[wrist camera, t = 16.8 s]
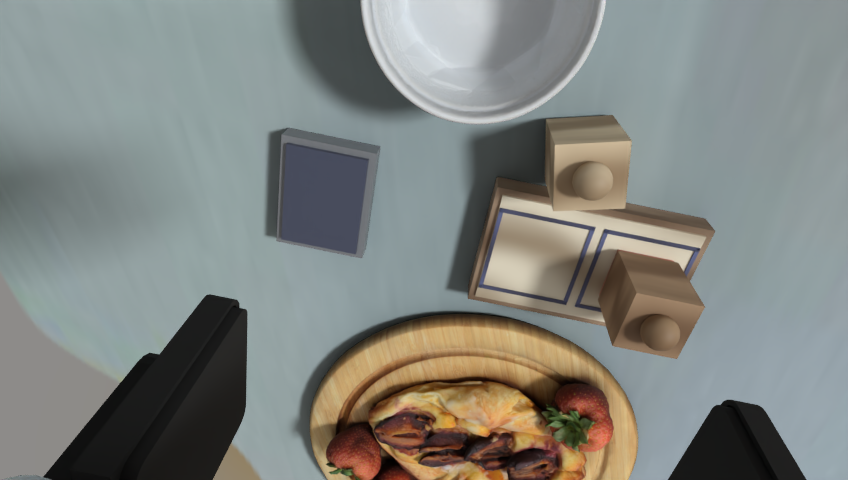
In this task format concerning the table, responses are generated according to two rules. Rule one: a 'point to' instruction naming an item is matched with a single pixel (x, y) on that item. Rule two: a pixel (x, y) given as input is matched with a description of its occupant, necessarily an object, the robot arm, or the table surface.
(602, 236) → the form board
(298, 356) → the table surface
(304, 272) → the table surface
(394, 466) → the wooden plate with food
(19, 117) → the table surface
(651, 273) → the stamp
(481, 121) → the ramekin
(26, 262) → the table surface
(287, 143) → the ink pad
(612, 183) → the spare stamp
